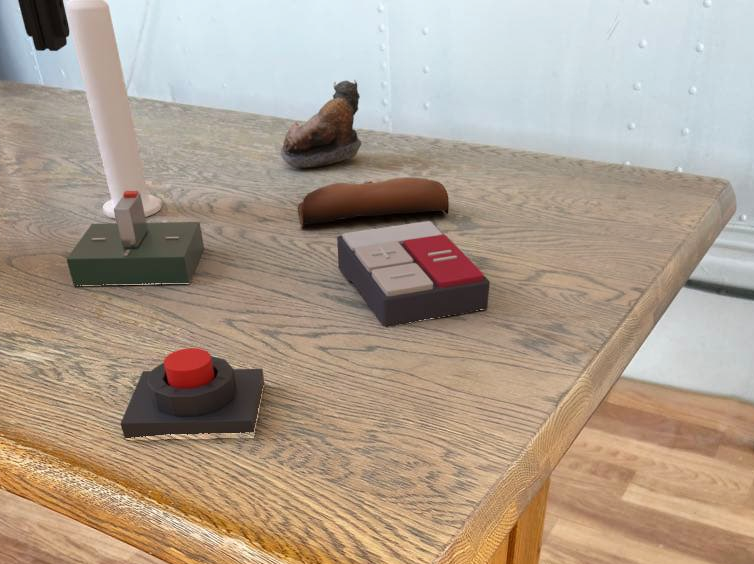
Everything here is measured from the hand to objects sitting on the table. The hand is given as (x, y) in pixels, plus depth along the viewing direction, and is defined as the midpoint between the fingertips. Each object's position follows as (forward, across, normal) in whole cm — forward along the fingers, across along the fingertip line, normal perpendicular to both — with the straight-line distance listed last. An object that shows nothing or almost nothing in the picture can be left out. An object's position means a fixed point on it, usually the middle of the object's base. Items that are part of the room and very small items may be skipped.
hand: (51, 47), depth 66 cm
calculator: (+22, +30, +3) cm, 37 cm away
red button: (+19, +12, -20) cm, 30 cm away
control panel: (+22, +1, +9) cm, 24 cm away
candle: (+23, -5, +27) cm, 36 cm away
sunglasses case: (+22, +25, +25) cm, 42 cm away
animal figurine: (+22, +18, +46) cm, 54 cm away
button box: (+22, +12, -20) cm, 32 cm away
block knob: (+19, +1, +9) cm, 22 cm away
